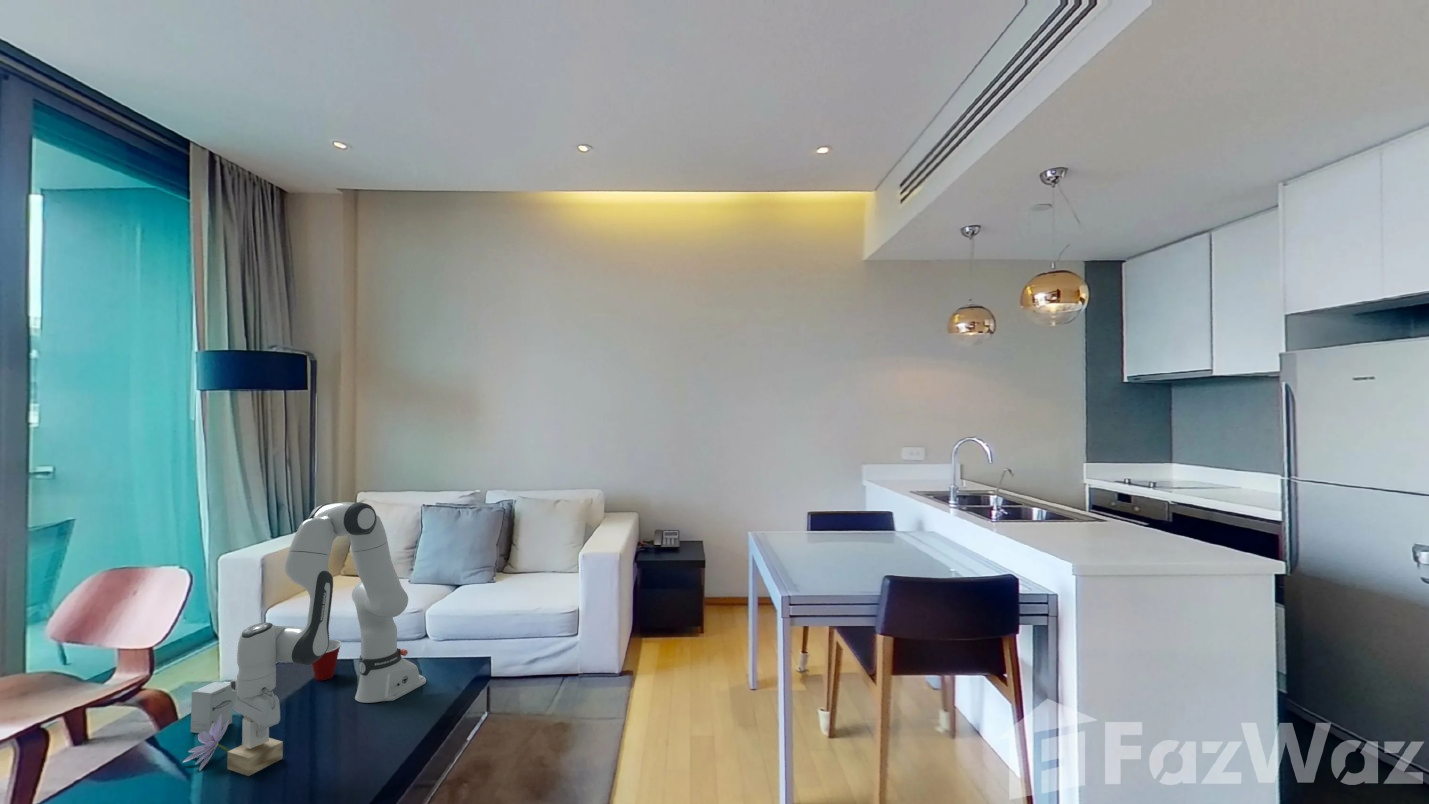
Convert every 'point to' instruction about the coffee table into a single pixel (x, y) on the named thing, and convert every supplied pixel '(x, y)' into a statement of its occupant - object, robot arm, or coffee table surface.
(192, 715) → the supplement box
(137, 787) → the coffee table surface
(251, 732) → the pale two-tone block
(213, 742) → the water lily
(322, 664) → the plastic cup
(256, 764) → the oak block
